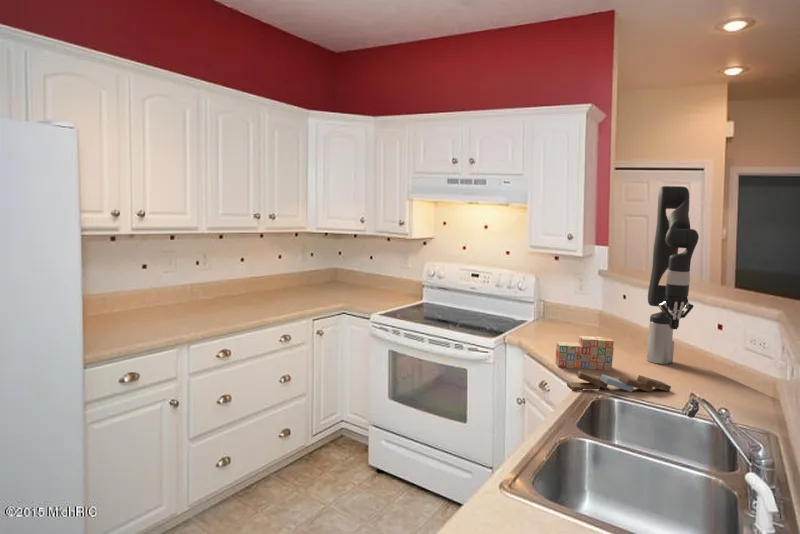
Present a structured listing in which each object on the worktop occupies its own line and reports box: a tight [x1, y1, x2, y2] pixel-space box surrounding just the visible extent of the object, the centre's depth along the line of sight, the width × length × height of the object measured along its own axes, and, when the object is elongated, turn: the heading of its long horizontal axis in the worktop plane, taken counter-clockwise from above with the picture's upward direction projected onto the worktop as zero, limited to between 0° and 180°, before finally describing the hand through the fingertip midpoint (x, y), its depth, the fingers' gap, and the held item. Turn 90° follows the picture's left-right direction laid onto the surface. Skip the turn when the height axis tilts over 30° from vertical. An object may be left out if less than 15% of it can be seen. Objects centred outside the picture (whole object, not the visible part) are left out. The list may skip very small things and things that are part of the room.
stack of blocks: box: [555, 335, 615, 371], centre depth 218 cm, size 21×6×12 cm, turn 85°
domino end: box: [566, 381, 601, 392], centre depth 190 cm, size 2×5×10 cm
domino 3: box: [618, 374, 654, 393], centre depth 190 cm, size 2×5×10 cm
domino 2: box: [600, 373, 635, 393], centre depth 190 cm, size 2×5×10 cm
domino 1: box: [576, 370, 609, 389], centre depth 192 cm, size 2×5×10 cm
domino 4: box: [636, 375, 672, 392], centre depth 191 cm, size 2×5×10 cm
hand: (673, 328), depth 197 cm, fingers closed
